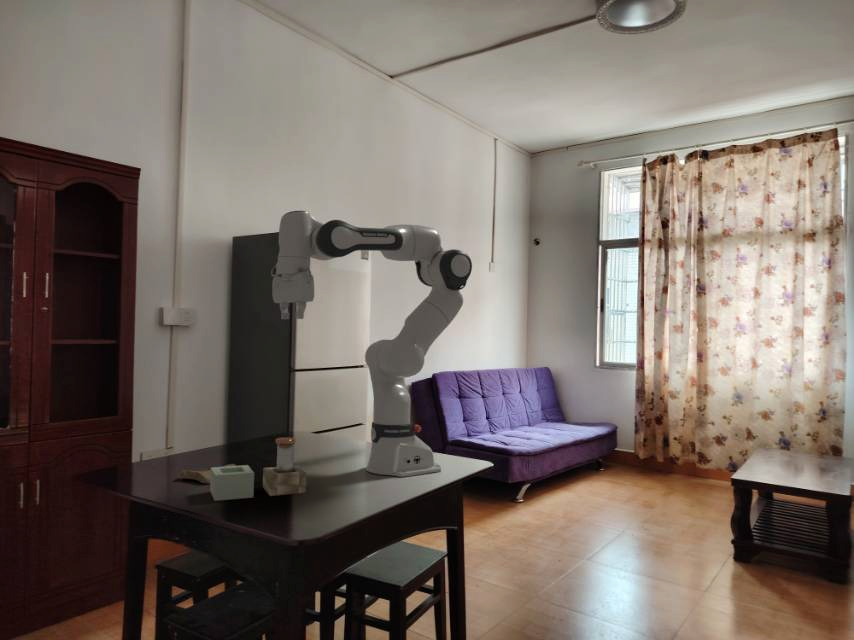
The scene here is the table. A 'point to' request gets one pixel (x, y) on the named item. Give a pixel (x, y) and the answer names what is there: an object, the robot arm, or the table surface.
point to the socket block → (232, 482)
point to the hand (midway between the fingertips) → (292, 319)
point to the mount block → (284, 481)
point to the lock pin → (285, 454)
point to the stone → (198, 475)
